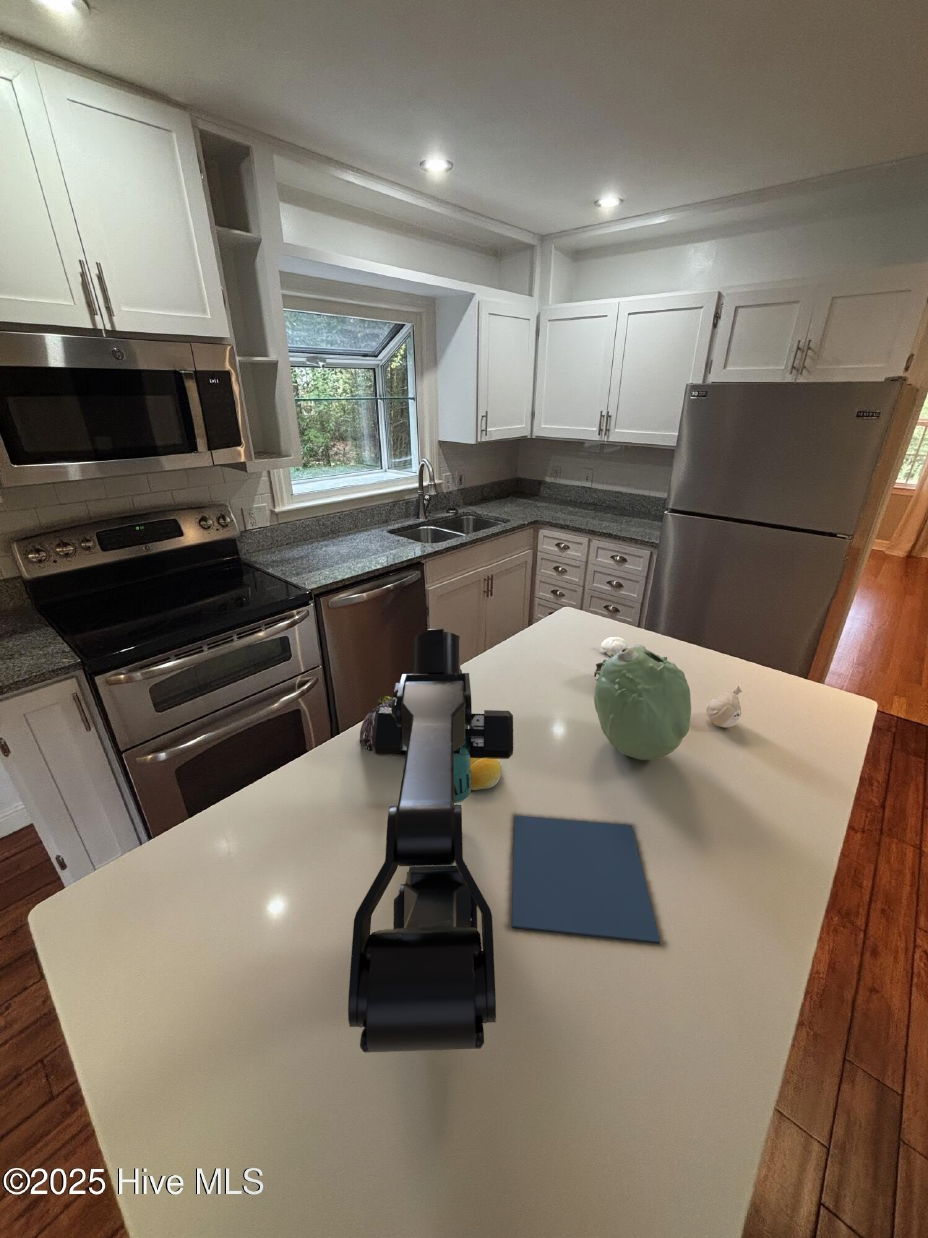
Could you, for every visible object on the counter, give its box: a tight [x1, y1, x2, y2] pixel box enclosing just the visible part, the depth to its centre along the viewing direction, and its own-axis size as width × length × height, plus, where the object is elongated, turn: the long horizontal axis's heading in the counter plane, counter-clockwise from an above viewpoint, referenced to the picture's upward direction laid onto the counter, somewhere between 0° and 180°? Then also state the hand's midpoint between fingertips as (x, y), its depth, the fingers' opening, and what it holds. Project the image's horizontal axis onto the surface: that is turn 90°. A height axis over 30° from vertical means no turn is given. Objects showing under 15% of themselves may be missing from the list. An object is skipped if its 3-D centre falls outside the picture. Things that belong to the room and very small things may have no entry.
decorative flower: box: [359, 695, 393, 752], centre depth 93 cm, size 14×12×15 cm
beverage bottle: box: [454, 726, 472, 804], centre depth 73 cm, size 6×7×20 cm
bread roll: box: [470, 758, 503, 791], centre depth 87 cm, size 8×9×4 cm
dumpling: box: [600, 636, 628, 657], centre depth 127 cm, size 7×5×4 cm
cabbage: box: [593, 644, 692, 761], centre depth 89 cm, size 16×19×20 cm
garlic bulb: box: [705, 685, 743, 728], centre depth 99 cm, size 7×6×8 cm
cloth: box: [511, 815, 661, 944], centre depth 70 cm, size 18×18×1 cm
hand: (447, 741), depth 75 cm, fingers closed on beverage bottle, 6 cm apart
